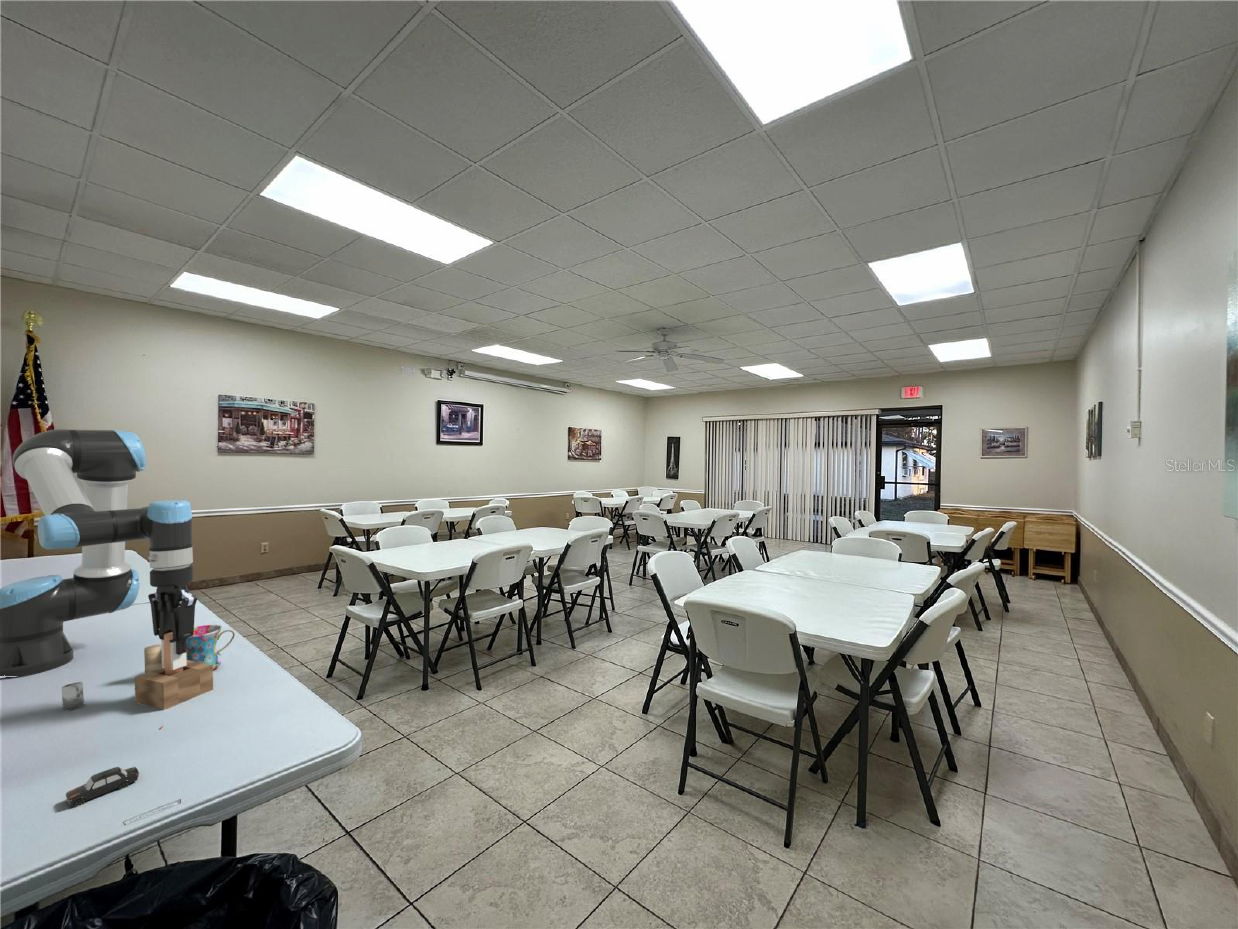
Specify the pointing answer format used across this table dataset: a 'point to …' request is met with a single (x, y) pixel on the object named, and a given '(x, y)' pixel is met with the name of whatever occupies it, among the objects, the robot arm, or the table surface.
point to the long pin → (169, 656)
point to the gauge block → (173, 685)
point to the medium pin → (153, 657)
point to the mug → (205, 644)
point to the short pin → (72, 696)
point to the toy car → (102, 784)
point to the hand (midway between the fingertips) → (174, 666)
